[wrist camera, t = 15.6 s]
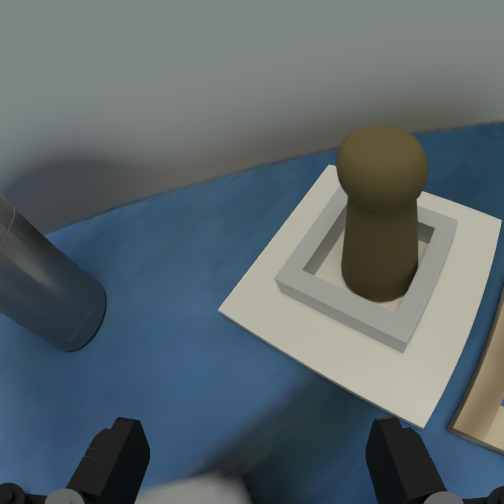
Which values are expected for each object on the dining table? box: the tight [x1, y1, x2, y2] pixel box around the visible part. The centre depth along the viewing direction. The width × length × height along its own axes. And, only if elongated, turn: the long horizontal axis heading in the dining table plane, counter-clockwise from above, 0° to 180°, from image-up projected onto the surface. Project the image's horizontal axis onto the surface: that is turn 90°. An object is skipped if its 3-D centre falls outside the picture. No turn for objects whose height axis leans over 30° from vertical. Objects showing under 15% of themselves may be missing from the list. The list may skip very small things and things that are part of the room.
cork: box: [336, 126, 428, 301], centre depth 19 cm, size 6×6×11 cm
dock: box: [218, 165, 502, 429], centre depth 23 cm, size 18×18×3 cm
